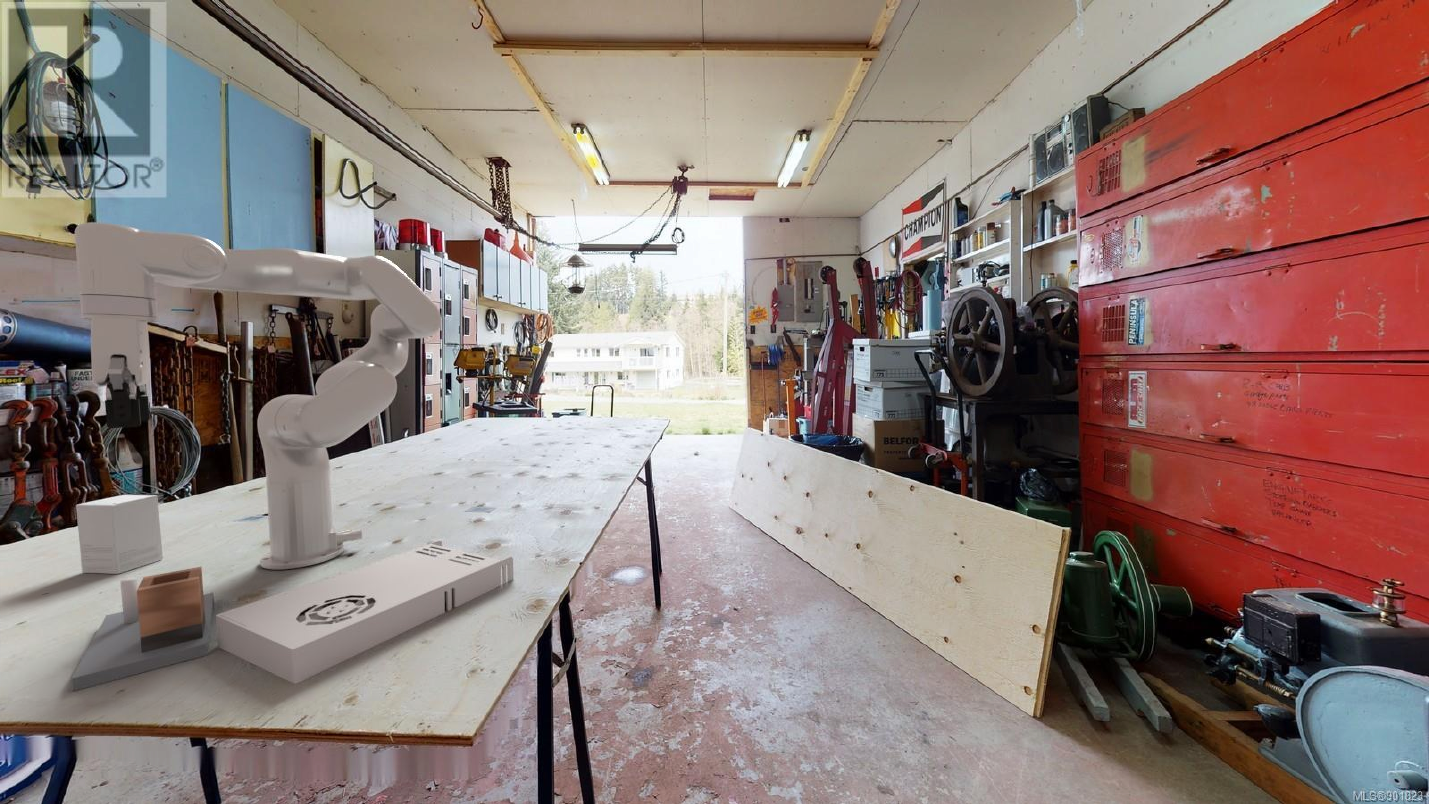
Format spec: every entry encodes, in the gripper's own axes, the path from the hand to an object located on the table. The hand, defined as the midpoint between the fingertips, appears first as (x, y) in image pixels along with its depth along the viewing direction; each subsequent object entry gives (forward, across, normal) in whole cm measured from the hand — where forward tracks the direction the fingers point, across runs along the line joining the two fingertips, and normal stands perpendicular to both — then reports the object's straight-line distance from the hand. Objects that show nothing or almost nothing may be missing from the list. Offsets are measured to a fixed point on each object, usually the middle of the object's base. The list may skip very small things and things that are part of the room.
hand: (129, 424), depth 78 cm
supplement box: (+28, -25, -5) cm, 38 cm away
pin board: (+28, +16, +2) cm, 33 cm away
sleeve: (+27, +21, +5) cm, 34 cm away
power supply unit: (+29, +26, +28) cm, 48 cm away
